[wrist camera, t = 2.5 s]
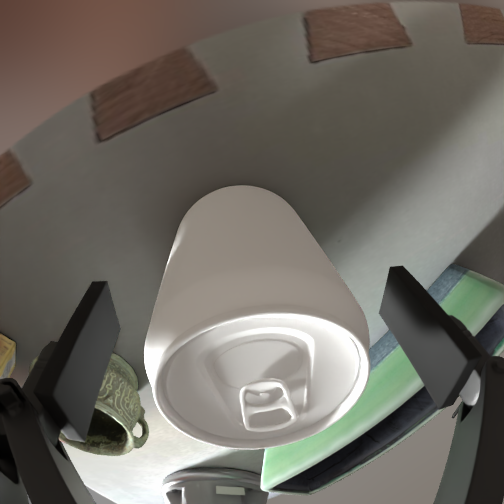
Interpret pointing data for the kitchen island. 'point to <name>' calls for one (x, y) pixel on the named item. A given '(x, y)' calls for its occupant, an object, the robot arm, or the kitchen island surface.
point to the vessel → (114, 413)
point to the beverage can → (253, 327)
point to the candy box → (7, 356)
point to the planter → (386, 395)
